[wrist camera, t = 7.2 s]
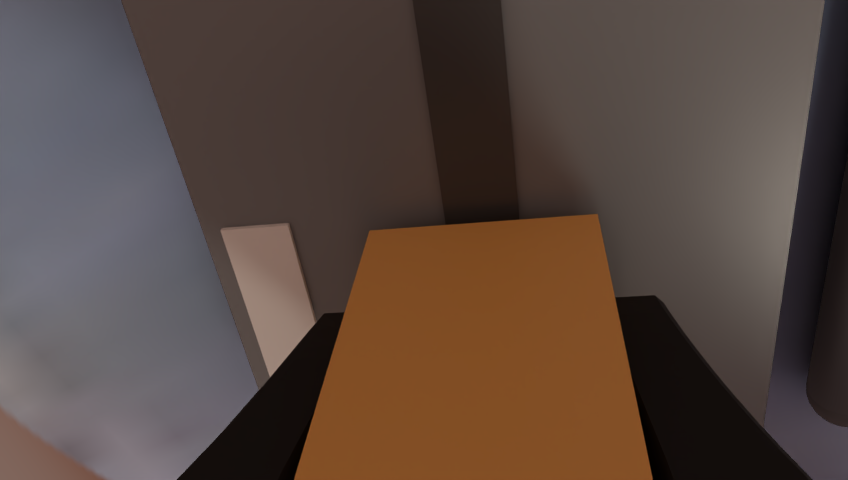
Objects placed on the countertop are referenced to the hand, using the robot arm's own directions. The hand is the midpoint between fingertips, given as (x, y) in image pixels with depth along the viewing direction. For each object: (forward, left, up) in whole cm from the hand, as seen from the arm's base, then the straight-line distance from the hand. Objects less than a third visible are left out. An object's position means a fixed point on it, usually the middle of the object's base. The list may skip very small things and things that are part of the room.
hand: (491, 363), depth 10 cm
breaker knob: (0, 0, -1) cm, 1 cm away
